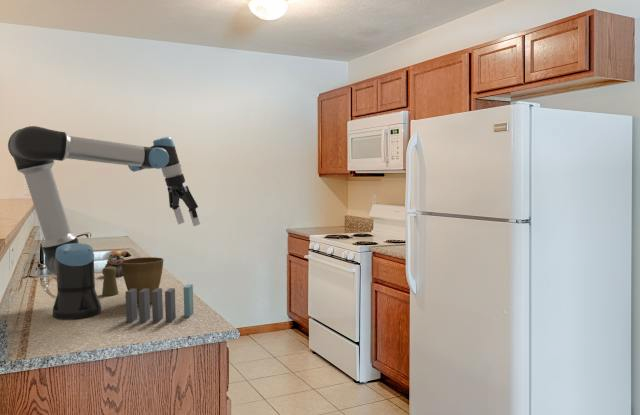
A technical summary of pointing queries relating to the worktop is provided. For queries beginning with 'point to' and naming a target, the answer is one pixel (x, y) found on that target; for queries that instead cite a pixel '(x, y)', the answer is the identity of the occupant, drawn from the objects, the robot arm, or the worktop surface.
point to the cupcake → (115, 264)
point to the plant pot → (142, 274)
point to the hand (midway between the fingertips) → (188, 224)
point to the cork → (109, 282)
